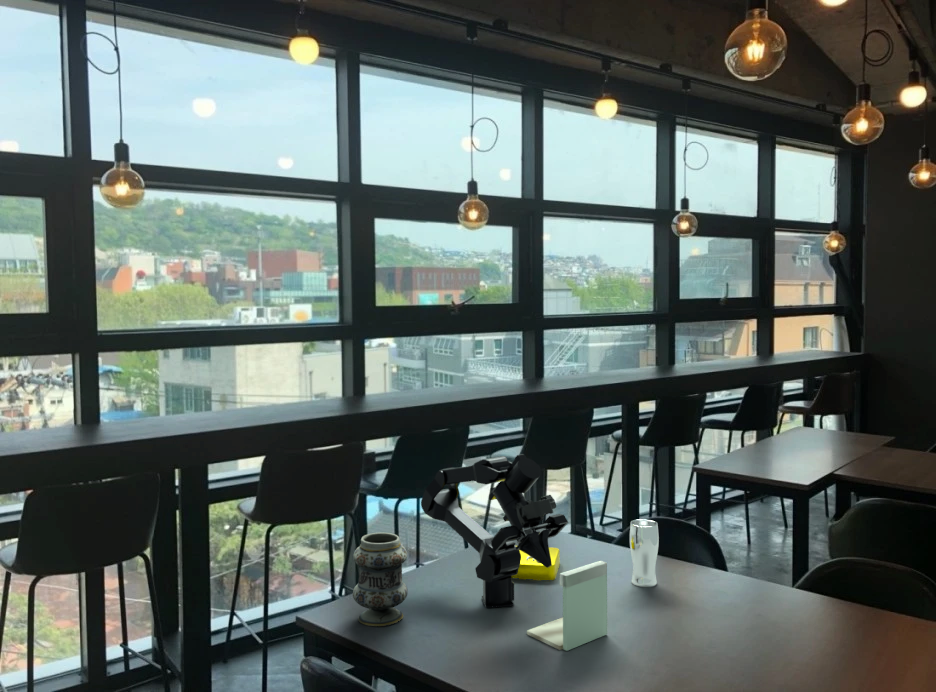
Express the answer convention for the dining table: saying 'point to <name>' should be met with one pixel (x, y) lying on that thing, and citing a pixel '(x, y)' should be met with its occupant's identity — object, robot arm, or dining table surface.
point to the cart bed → (549, 633)
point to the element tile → (538, 567)
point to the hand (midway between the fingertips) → (549, 566)
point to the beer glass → (644, 551)
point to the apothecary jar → (380, 578)
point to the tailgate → (584, 604)
